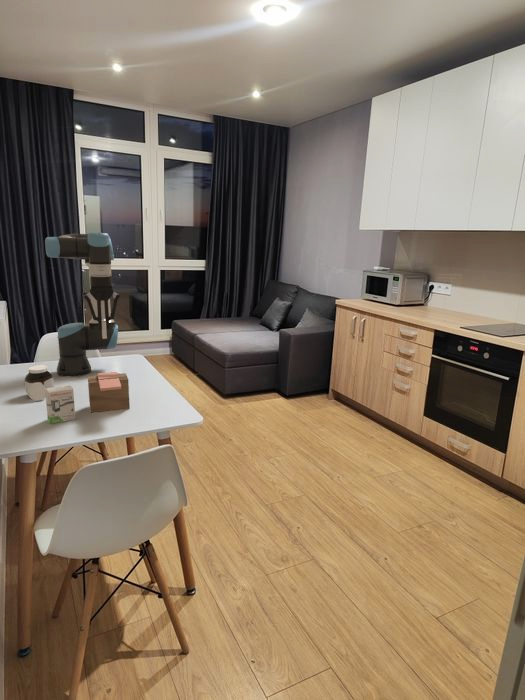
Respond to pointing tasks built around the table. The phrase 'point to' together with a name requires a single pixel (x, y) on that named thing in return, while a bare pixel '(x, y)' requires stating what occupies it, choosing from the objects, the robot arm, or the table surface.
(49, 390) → the ink box
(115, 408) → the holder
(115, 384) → the stub
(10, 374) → the table surface
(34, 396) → the spread jar
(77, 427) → the table surface
